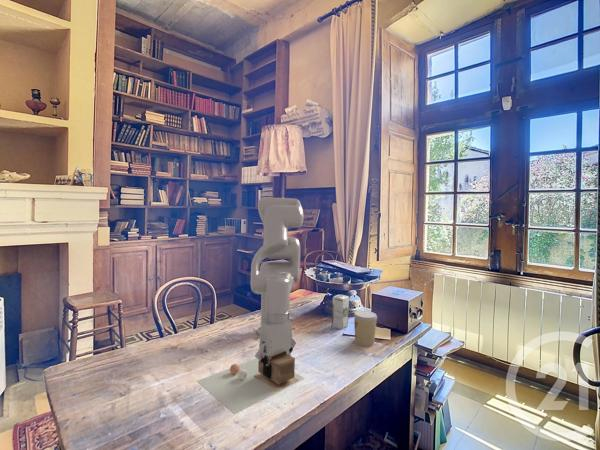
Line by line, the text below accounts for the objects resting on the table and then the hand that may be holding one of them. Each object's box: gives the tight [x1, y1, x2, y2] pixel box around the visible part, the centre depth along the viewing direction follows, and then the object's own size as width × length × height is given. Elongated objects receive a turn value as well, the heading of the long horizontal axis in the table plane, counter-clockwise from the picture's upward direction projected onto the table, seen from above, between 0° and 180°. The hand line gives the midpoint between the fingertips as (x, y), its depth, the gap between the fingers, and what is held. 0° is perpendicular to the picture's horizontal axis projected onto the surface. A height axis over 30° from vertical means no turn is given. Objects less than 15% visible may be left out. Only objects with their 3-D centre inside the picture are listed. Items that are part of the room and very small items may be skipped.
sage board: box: [196, 357, 306, 415], centre depth 99 cm, size 26×21×1 cm
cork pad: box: [254, 373, 298, 391], centre depth 99 cm, size 9×11×1 cm
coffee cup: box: [353, 310, 378, 347], centre depth 131 cm, size 9×9×12 cm
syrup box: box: [330, 294, 350, 330], centre depth 148 cm, size 6×6×14 cm
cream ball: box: [237, 369, 247, 380], centre depth 99 cm, size 3×3×3 cm
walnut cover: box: [258, 352, 296, 385], centre depth 99 cm, size 10×6×6 cm, turn 44°
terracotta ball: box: [229, 363, 239, 374], centre depth 102 cm, size 3×3×3 cm
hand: (276, 372), depth 99 cm, fingers closed on walnut cover, 6 cm apart
